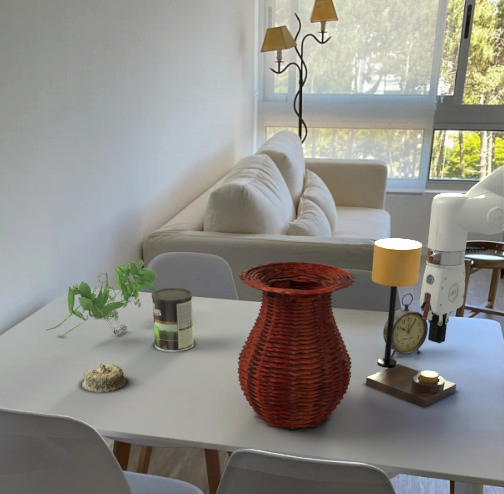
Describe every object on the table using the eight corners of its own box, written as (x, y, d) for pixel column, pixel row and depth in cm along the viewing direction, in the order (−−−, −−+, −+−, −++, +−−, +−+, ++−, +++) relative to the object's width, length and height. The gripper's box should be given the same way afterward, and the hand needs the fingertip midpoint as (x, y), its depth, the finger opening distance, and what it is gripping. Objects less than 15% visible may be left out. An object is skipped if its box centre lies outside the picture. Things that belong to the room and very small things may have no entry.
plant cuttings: (57, 376, 183) (110, 337, 171) (18, 321, 181) (69, 277, 169) (130, 333, 212) (180, 297, 200) (97, 285, 210) (146, 246, 198)
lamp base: (455, 392, 159) (457, 376, 157) (424, 408, 152) (426, 391, 150) (397, 372, 170) (398, 356, 168) (365, 385, 162) (366, 370, 160)
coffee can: (158, 354, 179) (155, 301, 173) (151, 341, 188) (148, 289, 182) (198, 350, 182) (196, 297, 176) (189, 337, 191) (187, 286, 184)
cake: (134, 386, 163) (134, 365, 160) (98, 400, 156) (97, 378, 154) (109, 371, 168) (108, 350, 166) (73, 383, 162) (71, 362, 159)
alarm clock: (389, 361, 175) (395, 298, 168) (377, 354, 180) (383, 292, 173) (426, 355, 179) (433, 293, 172) (413, 348, 184) (420, 287, 177)
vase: (261, 384, 162) (263, 255, 149) (361, 402, 154) (372, 267, 141) (218, 428, 143) (216, 284, 130) (329, 450, 135) (339, 299, 122)
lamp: (417, 365, 163) (431, 244, 151) (391, 376, 157) (403, 251, 145) (382, 353, 170) (393, 236, 158) (356, 363, 164) (365, 243, 152)
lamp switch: (441, 381, 156) (442, 374, 155) (430, 386, 154) (431, 378, 153) (426, 375, 159) (426, 368, 158) (415, 380, 156) (416, 373, 155)
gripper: (440, 266, 137) (431, 354, 145) (481, 253, 146) (470, 336, 154) (408, 260, 142) (401, 345, 150) (450, 247, 151) (441, 328, 159)
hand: (436, 340), depth 152 cm, fingers closed
